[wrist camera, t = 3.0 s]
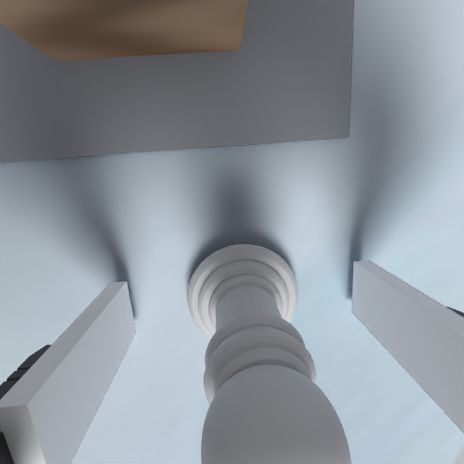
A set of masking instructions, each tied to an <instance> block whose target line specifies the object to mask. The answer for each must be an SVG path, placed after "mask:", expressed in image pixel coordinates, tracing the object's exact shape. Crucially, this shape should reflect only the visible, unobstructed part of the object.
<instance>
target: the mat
mask: <svg viewBox="0 0 464 464" xmlns="http://www.w3.org/2000/svg"><path fill="white" fill-rule="evenodd" d="M353 13H354V0H248V5H247V10H246V16H245V21H244V27H243V32H242V38H241V43H240V49H239V50H234V51H217V52H199V53H182V54H165V55H148V56H131V57H113V58H96V59H79V60H62V61H56V60H54V59H53V58H51V57H50V56H48V55H47V54H45V53H44V52H42V51H41V50H39V49H38V48H36V47H35V46H33V45H32V44H30V43H29V42H27V41H26V40H24V39H22V38H21V37H19V36H18V35H16V34H15V33H13V32H12V31H10V30H9V29H7V28H6V27H4V26H3V25H1V24H0V162H13V161H28V160H42V159H56V158H70V157H84V156H98V155H112V154H126V153H140V152H155V151H169V150H183V149H197V148H211V147H225V146H239V145H253V144H267V143H282V142H296V141H310V140H324V139H338V138H347V137H349V128H350V100H351V71H352V42H353Z"/></svg>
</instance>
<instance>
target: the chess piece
mask: <svg viewBox="0 0 464 464" xmlns="http://www.w3.org/2000/svg"><path fill="white" fill-rule="evenodd" d="M187 301H188V307H189V310H190V314H191V316H192V319H193V321H194V322H195V324H196V326H197V327H198V328H199V329H200V331H201V332H202V333H203V334H205V335H206V336H207V337H208V338H210V339H211V340H210V342H209V344H208V347H207V350H206V355H205V365H206V370H205V374H204V389H205V393H206V396H207V400H208V402H209V404H210V407H209V409H208V412H207V415H206V418H205V422H204V427H203V433H202V443H201V461H202V464H351V458H350V452H349V447H348V443H347V439H346V436H345V433H344V430H343V427H342V424H341V422H340V420H339V417H338V415H337V413H336V411H335V409H334V408H333V406H332V404H331V403H330V401H329V400H328V398H327V397H326V396H325V394H324V393H323V392H322V391H321V389H320V388H319V387H318V386H317V385H316V372H315V366H314V362H313V359H312V357H311V355H310V353H309V352H308V351H307V349H306V348H305V344H304V341H303V339H302V337H301V335H300V334H299V332H298V331H297V330H296V329H295V328H294V327H293V326H292V325H291V324H290V321H291V319H292V318H293V316H294V313H295V311H296V307H297V302H298V287H297V282H296V279H295V275H294V273H293V271H292V269H291V268H290V266H289V265H288V264H287V263H286V261H285V260H284V259H283V258H281V257H280V256H279V255H278V254H276V253H275V252H273V251H271V250H269V249H267V248H265V247H261V246H258V245H252V244H236V245H231V246H227V247H224V248H221V249H219V250H217V251H216V252H214V253H212V254H211V255H209V256H208V257H207V258H206V259H204V260H203V261H202V262H201V263H200V265H199V266H198V267H197V268H196V270H195V272H194V273H193V275H192V277H191V279H190V283H189V286H188V292H187Z"/></svg>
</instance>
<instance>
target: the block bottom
mask: <svg viewBox="0 0 464 464" xmlns="http://www.w3.org/2000/svg"><path fill="white" fill-rule="evenodd" d="M247 5H248V0H0V24H1V25H3V26H4V27H6V28H7V29H9V30H10V31H12V32H13V33H15V34H16V35H18V36H19V37H21V38H22V39H24V40H26V41H27V42H29V43H30V44H32V45H33V46H35V47H36V48H38V49H39V50H41V51H42V52H44V53H45V54H47V55H48V56H50V57H51V58H53V59H54V60H56V61H62V60H79V59H96V58H113V57H131V56H148V55H165V54H182V53H199V52H217V51H234V50H239V49H240V43H241V38H242V32H243V27H244V21H245V16H246V10H247Z"/></svg>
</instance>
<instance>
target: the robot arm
mask: <svg viewBox="0 0 464 464" xmlns="http://www.w3.org/2000/svg"><path fill="white" fill-rule="evenodd" d="M352 313H353V314H354V315H355V316H356V318H357V319H358V320H359V321H360V322H361V323H362V324H363V325H364V326H365V327H366V328H367V329H368V330H369V332H370V333H371V334H372V335H373V336H374V337H375V338H376V339H377V340H378V341H379V342H380V343H381V345H382V346H383V347H384V348H385V349H386V350H387V351H388V352H389V353H390V354H391V355H392V356H393V357H394V359H395V360H396V361H397V362H398V363H399V364H400V365H401V366H402V367H403V368H404V369H405V370H406V372H407V373H408V374H409V375H410V376H411V377H412V378H413V379H414V380H415V381H416V382H417V383H418V384H419V386H420V387H421V388H422V389H423V390H424V391H425V392H426V393H427V394H428V395H429V396H430V397H431V398H432V400H433V401H434V402H435V403H436V404H437V405H438V406H439V407H440V408H441V409H442V410H443V411H444V413H445V414H446V415H447V416H448V417H449V418H450V419H451V420H452V421H453V422H454V423H455V424H456V425H457V427H458V428H459V429H460V430H461V431H462V432H463V433H464V313H462V312H460V311H457V310H455V309H452V308H450V307H445V306H444V305H442V304H440V303H439V302H437V301H435V300H434V299H432V298H431V297H429V296H427V295H426V294H424V293H422V292H421V291H419V290H417V289H416V288H414V287H412V286H411V285H409V284H408V283H406V282H404V281H403V280H401V279H399V278H398V277H396V276H394V275H393V274H391V273H389V272H388V271H386V270H385V269H383V268H381V267H380V266H378V265H376V264H375V263H373V262H371V261H370V260H365V261H354V269H353V292H352ZM135 334H136V329H135V323H134V318H133V312H132V307H131V301H130V296H129V290H128V285H127V281H124V282H112V283H110V284H109V285H108V286H107V287H106V288H105V289H104V290H103V291H102V292H101V293H100V294H99V295H98V296H97V297H96V299H95V300H94V301H93V302H92V303H91V304H90V305H89V306H88V307H87V308H86V309H85V310H84V311H83V312H82V313H81V314H80V316H79V317H78V318H77V319H76V320H75V321H74V322H73V323H72V324H71V325H70V326H69V327H68V328H67V329H66V330H65V332H64V333H63V334H62V335H61V336H60V337H59V338H58V339H57V340H56V341H55V342H54V343H53V344H52V345H46V346H44V347H43V348H41V349H40V350H38V351H37V352H35V353H34V354H32V355H31V356H29V357H28V358H27V359H26V360H25V361H24V362H23V363H22V364H21V365H20V366H19V367H18V370H17V371H14V372H13V373H12V374H11V375H10V376H9V377H8V378H7V381H6V382H3V383H2V384H1V385H0V464H71V462H72V460H73V458H74V456H75V454H76V452H77V450H78V448H79V446H80V444H81V442H82V440H83V438H84V436H85V434H86V432H87V430H88V428H89V426H90V424H91V422H92V420H93V418H94V416H95V414H96V412H97V410H98V408H99V406H100V404H101V402H102V400H103V398H104V396H105V394H106V392H107V390H108V388H109V386H110V384H111V382H112V380H113V378H114V376H115V374H116V372H117V370H118V368H119V366H120V364H121V362H122V360H123V358H124V356H125V354H126V352H127V350H128V348H129V346H130V344H131V342H132V340H133V338H134V336H135Z"/></svg>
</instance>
